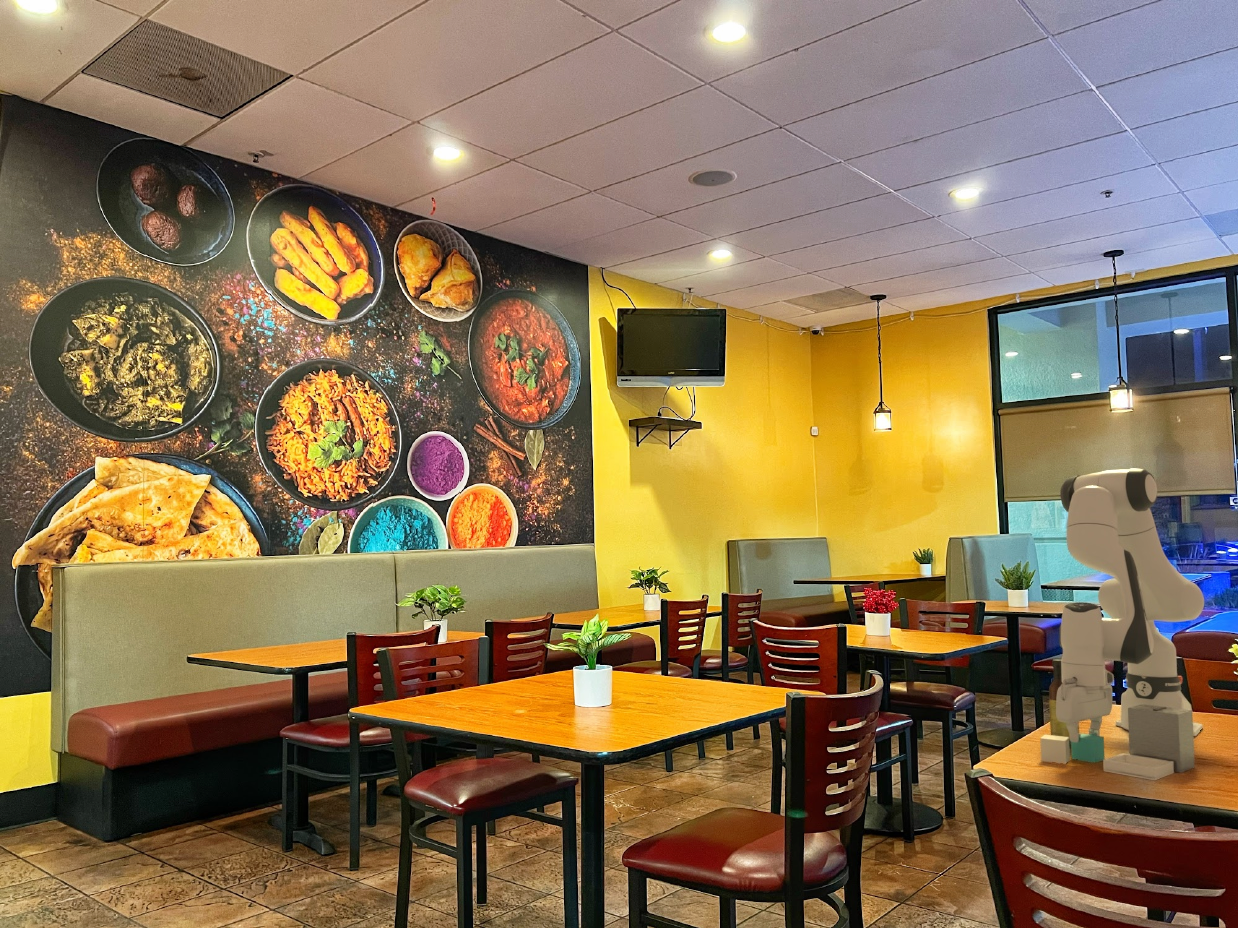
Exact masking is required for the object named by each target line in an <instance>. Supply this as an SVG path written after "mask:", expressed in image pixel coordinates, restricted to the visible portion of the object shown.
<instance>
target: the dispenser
mask: <svg viewBox="0 0 1238 928" xmlns="http://www.w3.org/2000/svg"><path fill="white" fill-rule="evenodd" d="M1193 719H1194V718H1193V709H1192V710H1186V709H1178V708H1170V707H1162V706H1154V705H1146V704H1141V705H1137V706H1133V707H1130V708H1128V724H1129V730H1128V744H1129V745H1128V747H1129V751H1128V752H1129V754H1130V755H1137V756H1143V757H1149V758H1155V759H1161V760H1167V761H1173V766H1174V773H1179V774H1182V773H1185V772H1187V771H1189V770H1192V769H1193V768H1195V767H1196V766H1195V765H1196V764H1195V745H1194V743H1195V742H1194V741H1195V740H1194V736H1193V722H1194V720H1193Z"/></svg>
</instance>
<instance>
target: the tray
mask: <svg viewBox="0 0 1238 928" xmlns="http://www.w3.org/2000/svg"><path fill="white" fill-rule="evenodd" d="M1102 761H1103V762H1102V763H1103V764H1102V765H1103V772H1107V773H1112V774H1118V775H1123V776H1127V777H1134V778H1139V779H1145V780H1150V781H1158V780H1159V779H1162V778H1164V777H1167V776H1169V775H1172V774H1174V773H1175V772H1174V766H1173V761H1167V760H1161V759H1155V758H1149V757H1143V756H1137V755H1130V753H1124V752H1122V753H1120V754H1117V755H1114V756H1110V757H1108V758H1105V759H1104V760H1102Z"/></svg>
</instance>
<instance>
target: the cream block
mask: <svg viewBox="0 0 1238 928" xmlns="http://www.w3.org/2000/svg"><path fill="white" fill-rule="evenodd" d="M1070 748H1071V747H1070V746H1069V737H1063V736H1054V735H1051V734H1043V735H1042V736H1041V737H1040V761H1041V762H1047V763H1052V762H1057V763H1056V764H1060V763H1063V764H1062V765H1067V764H1068V763H1069V761H1070V760H1071V749H1070ZM1067 762H1068V763H1067ZM1066 763H1067V764H1066Z"/></svg>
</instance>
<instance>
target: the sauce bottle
mask: <svg viewBox="0 0 1238 928" xmlns="http://www.w3.org/2000/svg"><path fill="white" fill-rule="evenodd" d="M1061 659H1062V658H1060V659H1057V658H1056V659H1051V660H1052V661H1051V663H1052V667H1053V680H1052V682H1051V684H1050V685H1049V689H1048V693H1049V694H1048V695H1049V699H1048V704H1049V705H1048V707H1049V724H1050V725H1049V726H1050V728H1049V729H1050V735H1054V736H1063V737H1069V732H1068V729H1067V726H1066V722H1060V721H1058V720H1057V717H1056V698H1057V691H1058V688H1059V687H1061V685H1062V671H1061ZM1078 732H1079V733H1080V725H1079V726H1078ZM1069 747H1070V748H1071V741H1070V737H1069Z"/></svg>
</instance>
